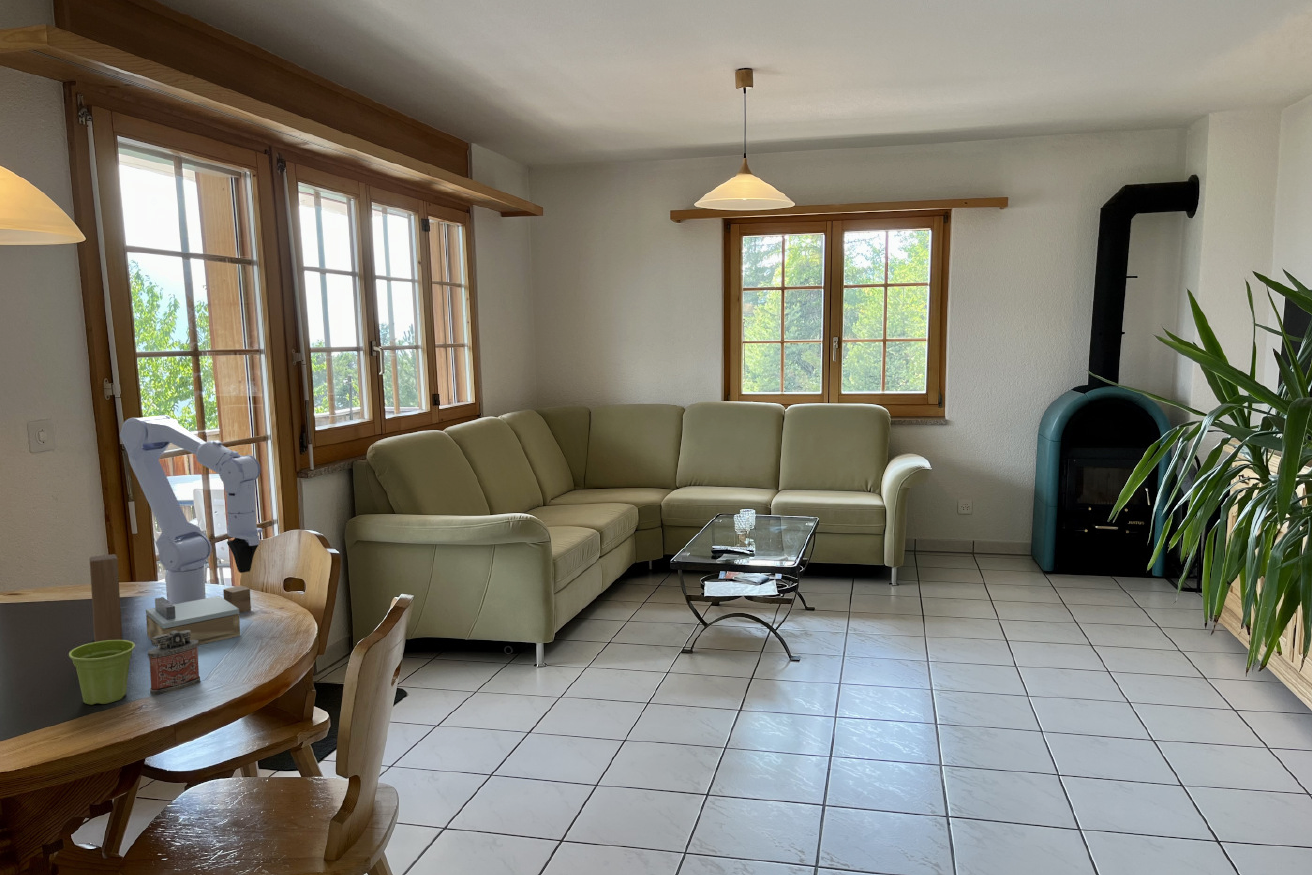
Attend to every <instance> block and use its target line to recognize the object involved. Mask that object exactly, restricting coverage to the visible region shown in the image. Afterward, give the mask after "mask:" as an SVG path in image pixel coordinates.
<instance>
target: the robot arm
mask: <svg viewBox="0 0 1312 875" xmlns="http://www.w3.org/2000/svg"><path fill="white" fill-rule="evenodd" d="M119 439H120V440H121V442H122V443H123V446H124V448H125V450H126V453H127V457H128V461H129V464H130V467H131V469H132V470H133V473H134V475H135V477H136V479H137V481H138V484H139V486H140V488H141V490H142V491H143V494H144V496H145V498H146V501H147V502H148V504H149V507H150V509H151V511H152V514H153V516H154V518H155V520H156V522H157V524H158V526H159V528H160V531H161V532H160V535H159V537H158V538H157V539H156V542H155V545H156V547H157V550H158V559H159V562H160V563H161V565H162V566H163V568H164V569H165V571H167V572H166V573H165V588H166V591H165V592H166V600H168V601H169V602H170V603H172V604H179V603H184V602H190V601H195V600H200V599H206V598H207V596H206V578H205V577H206V574H205V565H206V564H207V560H208V559H209V557H210V556H211V554H212V549H213V548H212V544H211V541H210V539H209V538H208V537H207V536H206V535H205V534H203V533H204V532H202V530H201V527H199V526H197V525H196V524H193V523H191V522H189V521H188V519H187V517H186V515H185V513H184V511H183V509H182V507H181V505H180V502H179V500H178V498H177V497H176V493H175V492H174V489H173V488H172V486H171V483H170V481H169V479H168V477H167V475H166V473H165V470H164V468H163V467H162V465H161V461H160V459H161V456H162V455H163V454H164V452H165V451H166V450H167V448H169V446H170V444H172V445H174V446H177V447H179V448H181V449H183V450H184V451H186V452H189V453H192V454H193V455H195V456H196V457H195V458H196V461H197V463H198V464H201V465H202V466H203V467H205V468H208V469H209V470H211V471H213V472H215V473H216V474H218V475H219V477H220V478H219V479H220V480H221V482H222V483H223V487H224V490H225V493H226V509H227V510H226V512H227V525H226V535H227V537H230V538H233V539H231V540H227V541H226V544H227V545H228V547H229V549H230V551H231V553H232V556H233V558H234V561H235V565H236V568H237V571H238V573H239V574H241V573H242V574H243V573H248V572H249V573H250V572H251V569H252V565H253V560H254V556H255V552H256V550H257V549H258V547H259V545H260V535H258V534H259V533H263V528H261V527H257V504H256V503H257V502H256V501H257V500H256V499H257V498H256V480H257V479H258V478H259V477H260V475H261V464H260V463H259V460H258V459H256V458H255V456H253V455H252V454H246V455H241V454H239V451H237V450H232V449H229V448H228V447H226V446H224V445H223V442H222V441H221V440H217V439H216V440H208V441H205V440H203V439H201V437H199V436H197V435H196V434H194V433H192V431H189V430H188V429H187V428H185V427H183V426H182V425H180V424H179V420H178V419H176V418H172V417H171V416H170V415H167V414H159V415H154V416H145V417H130V418H128V419H126V420H125V421H124V422H123V424H122V427H121V430H120V433H119Z"/></svg>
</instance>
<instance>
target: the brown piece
mask: <svg viewBox="0 0 1312 875" xmlns="http://www.w3.org/2000/svg"><path fill="white" fill-rule="evenodd" d="M145 615H146V614H145ZM145 617H146V618H145V621H146V635H147V636H148V637H149V638H150V641H152V638H153V637H156V636H160V635H164V634H167V635H168V634H170V632H171V631H174V630H175V631H178V632H181V631H185V630H190V631H191V637H190V640H198V646H199V645H204V644H208V643H213V642H218V641H223V640H227V639H228V640H229V639H231V638H232V639H233V638H235V637H236V638H237V637H240V636H241V624H240V623H241V621H240V613H239V614H235V615H230V616H225V617H220V618H215V619H210V620H205V621H200V622H195V623H190V624H185V625H180V626H175V627H170V628H165V629H163V628H162V627H161V626H159V625H158V624H157V623H156V622H155V621H153V620H152V619H151V618H150V617H149V616H148V615H146V616H145ZM148 637H147V638H148ZM149 638H148V639H149ZM183 641H185V640H184V638H183ZM167 643H168V642H167ZM167 643H165V644H166V645H167ZM158 646H159V647H160V644H159V645H158ZM158 646H157V647H158Z"/></svg>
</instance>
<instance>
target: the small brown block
mask: <svg viewBox="0 0 1312 875" xmlns="http://www.w3.org/2000/svg"><path fill="white" fill-rule="evenodd" d="M222 590H223V593H222V594H223V599H225V600H226V601H228V602H229V603H231V604H232V605H234V606H235V607H237V608H239V614H240V613H244V612H249V611H251V610H252V604H251V601H252V600H251V588H250V587H247V586H244V585H241V584H240V585H236V586H232V587H228V588H224V589H222Z"/></svg>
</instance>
